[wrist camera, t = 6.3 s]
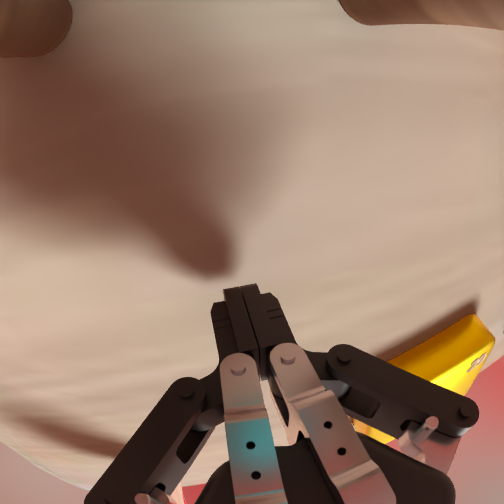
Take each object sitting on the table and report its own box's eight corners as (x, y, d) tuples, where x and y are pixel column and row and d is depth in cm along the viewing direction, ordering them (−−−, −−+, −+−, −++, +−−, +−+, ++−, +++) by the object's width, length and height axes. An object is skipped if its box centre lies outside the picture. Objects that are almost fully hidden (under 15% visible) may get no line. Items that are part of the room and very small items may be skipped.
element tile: (352, 426, 34) (366, 457, 30) (349, 374, 25) (371, 419, 21) (449, 374, 34) (466, 400, 30) (477, 303, 25) (504, 335, 21)
